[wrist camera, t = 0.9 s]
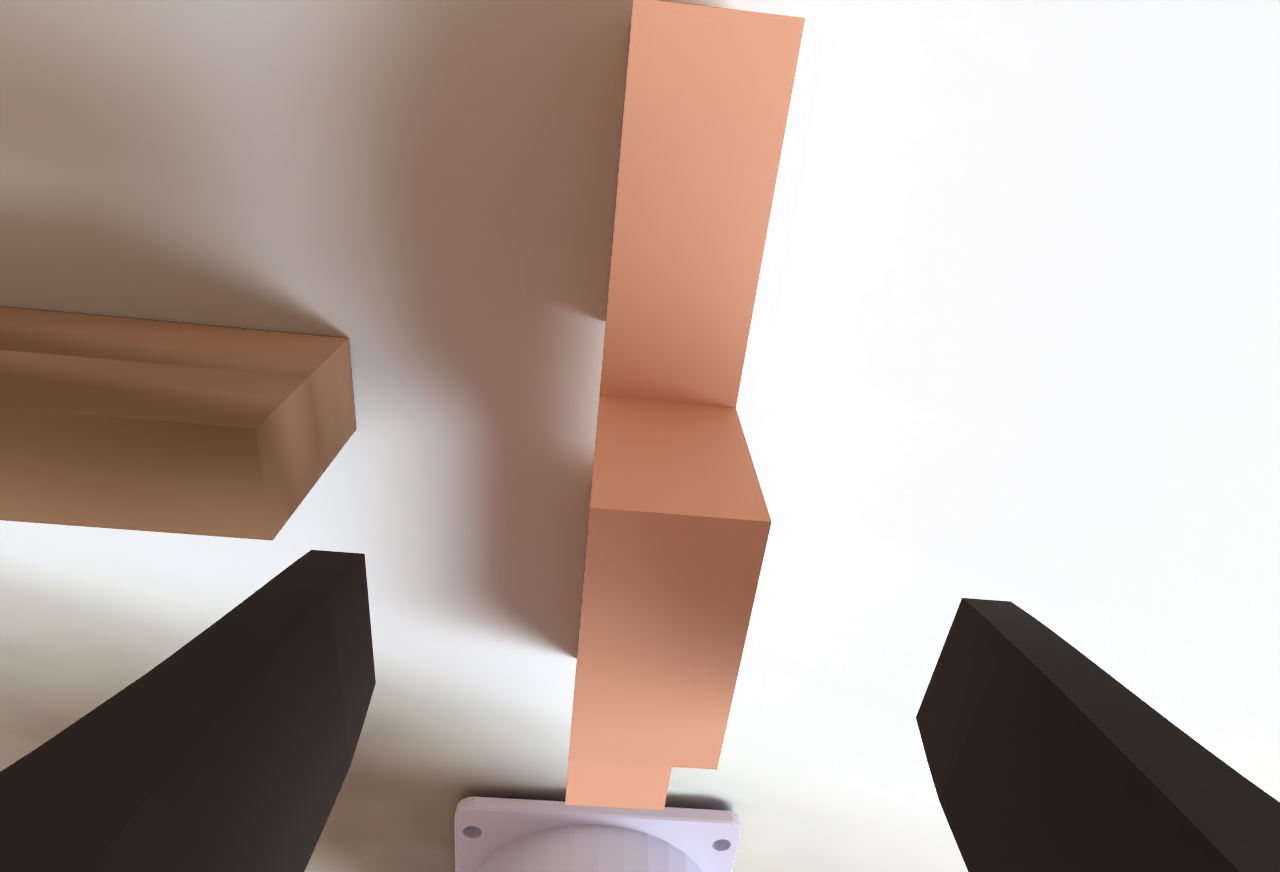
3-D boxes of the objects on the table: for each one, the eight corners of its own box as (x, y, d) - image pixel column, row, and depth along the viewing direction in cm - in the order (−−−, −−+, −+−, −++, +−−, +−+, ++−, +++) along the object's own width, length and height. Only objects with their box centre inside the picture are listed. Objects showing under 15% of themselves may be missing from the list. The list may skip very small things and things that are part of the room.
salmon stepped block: (656, 665, 18) (671, 975, 12) (577, 660, 18) (551, 970, 12) (752, 32, 12) (885, -5, 6) (632, 18, 12) (636, -35, 6)
